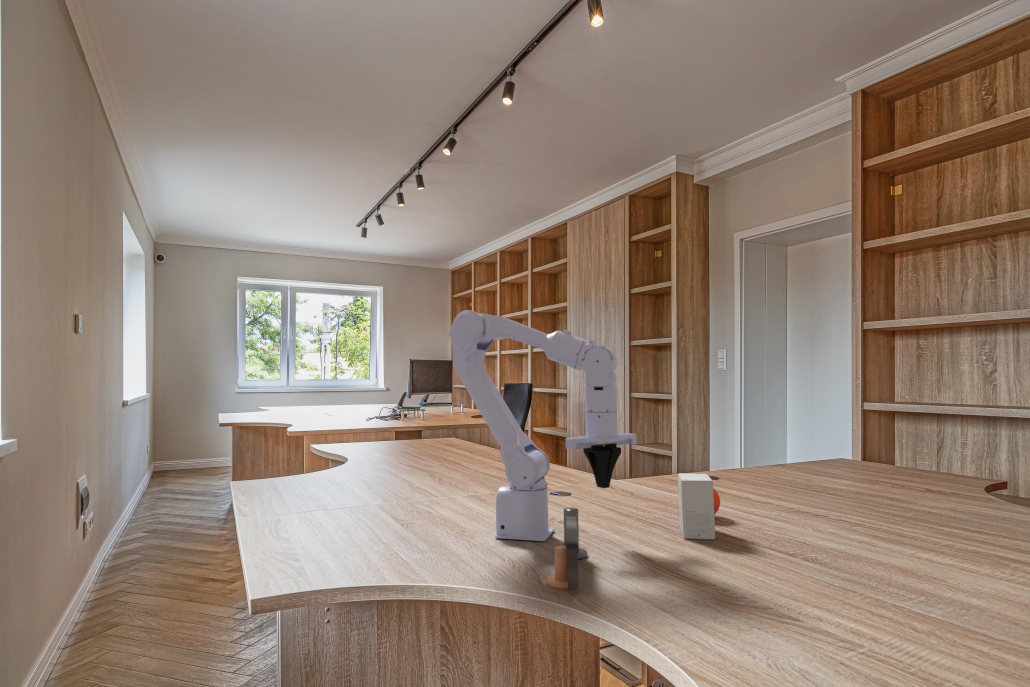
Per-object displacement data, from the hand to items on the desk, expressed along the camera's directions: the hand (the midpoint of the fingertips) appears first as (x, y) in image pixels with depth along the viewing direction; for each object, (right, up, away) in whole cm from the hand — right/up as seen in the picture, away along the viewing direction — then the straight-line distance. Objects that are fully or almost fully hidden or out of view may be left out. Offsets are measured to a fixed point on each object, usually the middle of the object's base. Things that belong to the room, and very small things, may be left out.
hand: (603, 487), depth 103 cm
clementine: (+22, -10, +15) cm, 29 cm away
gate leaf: (-7, -8, -18) cm, 21 cm away
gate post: (-7, -9, -9) cm, 14 cm away
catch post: (-9, -8, -22) cm, 25 cm away
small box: (+18, -10, +3) cm, 20 cm away
